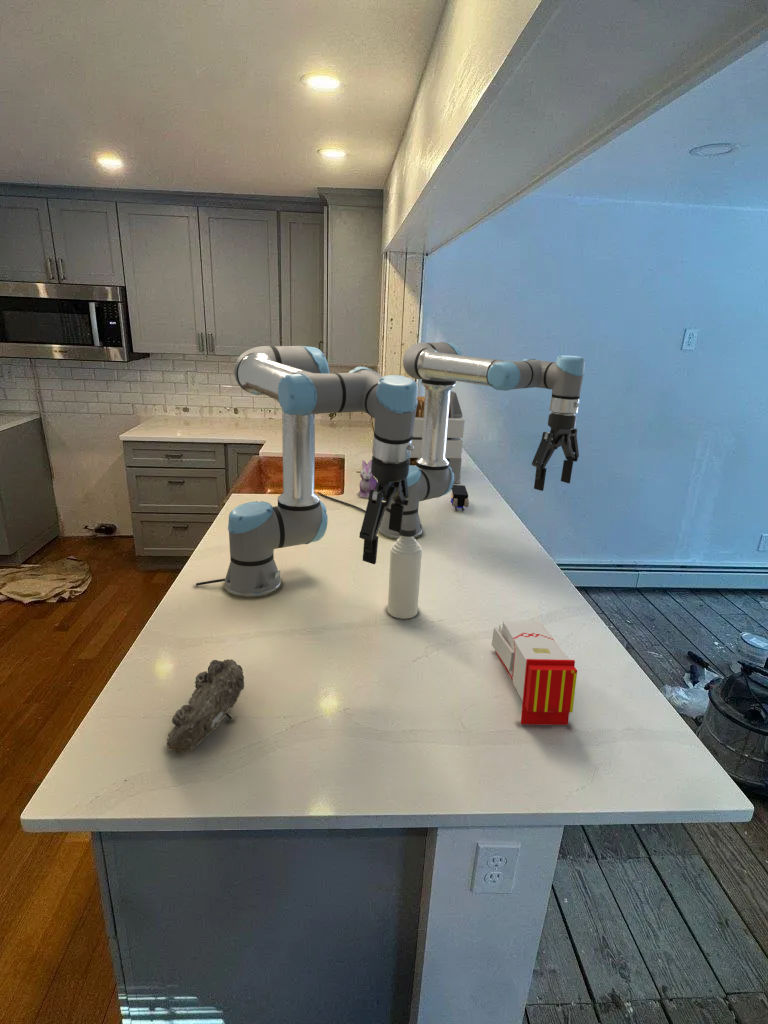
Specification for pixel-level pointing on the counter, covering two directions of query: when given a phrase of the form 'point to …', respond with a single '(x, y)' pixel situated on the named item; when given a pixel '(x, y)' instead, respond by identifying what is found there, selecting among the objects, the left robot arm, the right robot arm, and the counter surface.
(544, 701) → the toy
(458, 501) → the figurine character
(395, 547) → the bottle
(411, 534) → the cap
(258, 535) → the left robot arm
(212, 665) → the fossil
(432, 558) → the counter surface
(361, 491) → the figurine
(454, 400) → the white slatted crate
